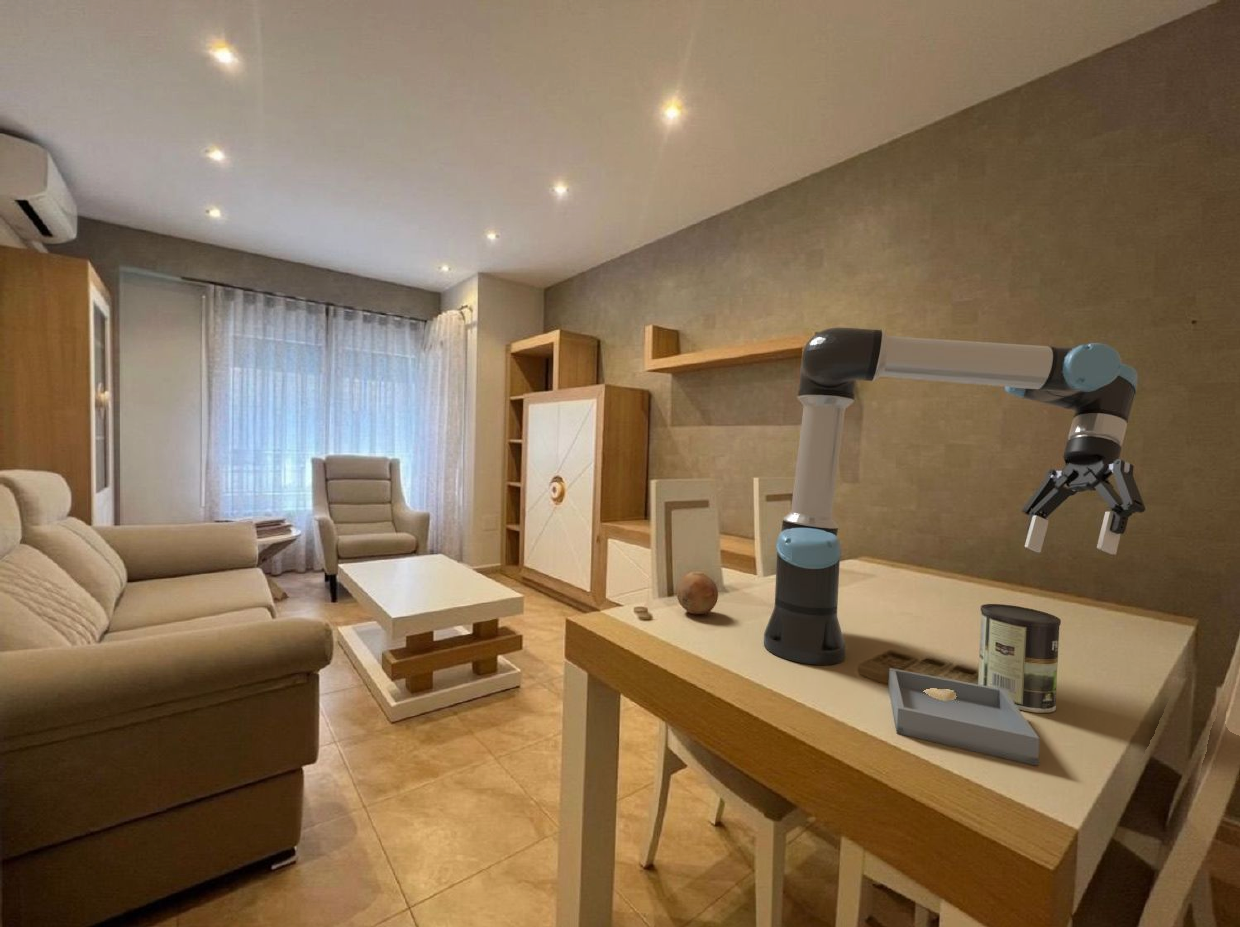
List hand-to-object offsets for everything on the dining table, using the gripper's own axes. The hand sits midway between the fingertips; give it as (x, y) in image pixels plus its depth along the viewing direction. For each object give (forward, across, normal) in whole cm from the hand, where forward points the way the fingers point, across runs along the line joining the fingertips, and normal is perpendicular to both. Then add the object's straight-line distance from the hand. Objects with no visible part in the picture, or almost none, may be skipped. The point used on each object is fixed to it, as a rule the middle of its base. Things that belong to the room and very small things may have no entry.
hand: (1066, 550), depth 90 cm
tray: (+35, -10, +20) cm, 41 cm away
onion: (+37, +39, +47) cm, 72 cm away
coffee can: (+28, -2, +4) cm, 28 cm away
